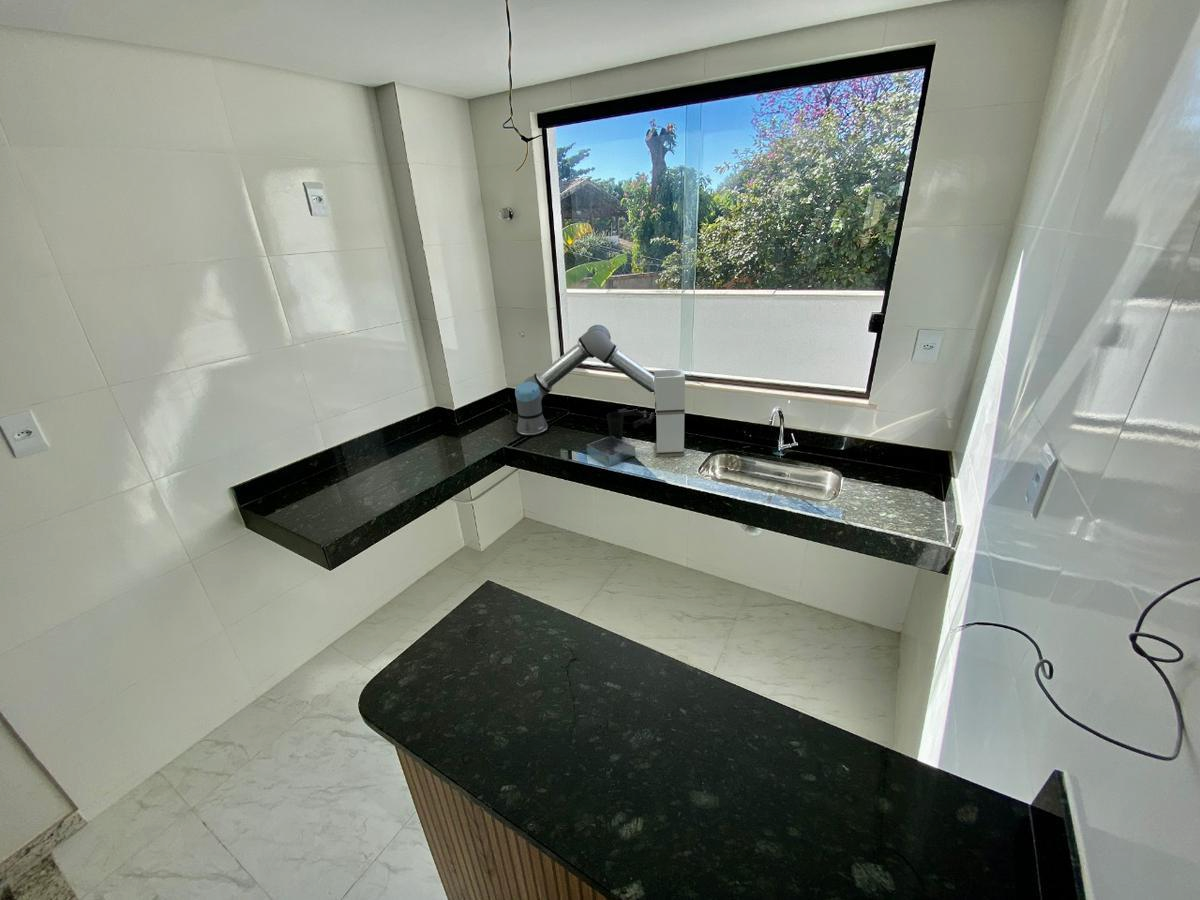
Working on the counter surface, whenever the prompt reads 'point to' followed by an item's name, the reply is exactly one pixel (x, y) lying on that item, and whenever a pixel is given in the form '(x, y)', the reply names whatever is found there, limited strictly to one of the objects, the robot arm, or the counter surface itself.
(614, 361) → the robot arm
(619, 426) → the cup
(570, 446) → the counter surface
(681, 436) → the grey square pillar
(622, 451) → the translucent shallow box
